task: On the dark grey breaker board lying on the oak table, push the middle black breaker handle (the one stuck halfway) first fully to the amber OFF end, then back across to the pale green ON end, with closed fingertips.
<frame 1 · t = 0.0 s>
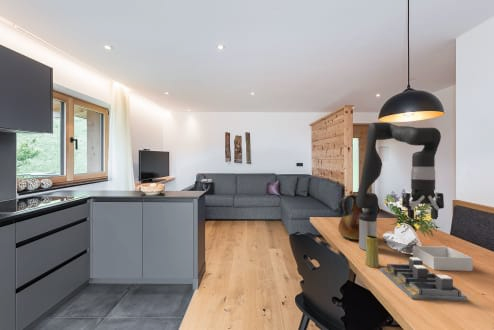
hand: (422, 218, 89), 29 cm above the table, fingers open, 8 cm apart
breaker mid: (419, 273, 95), point 5 cm above the table, slide at 4.5 cm
panel: (418, 284, 95), on the table
breaker near: (444, 283, 87), point 5 cm above the table, slide at 8.0 cm
ceramic pitcher: (354, 238, 153), on the table
vase: (371, 265, 113), on the table
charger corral: (440, 263, 114), on the table
breaker far: (415, 264, 103), point 5 cm above the table, slide at 8.0 cm
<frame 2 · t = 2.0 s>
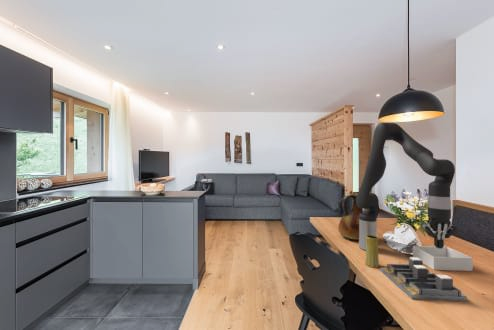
hand: (438, 247, 94), 16 cm above the table, fingers closed
nothing on the table moved.
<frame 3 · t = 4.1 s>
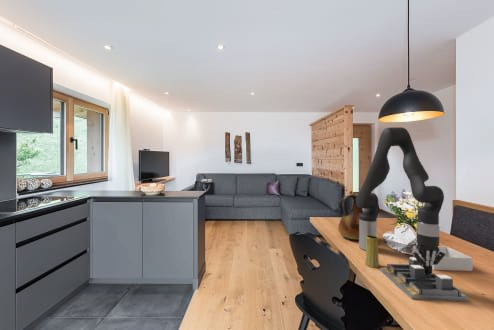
hand: (427, 273, 95), 4 cm above the table, fingers closed
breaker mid: (417, 273, 95), point 5 cm above the table, slide at 3.5 cm, touching gripper
everything else where it was.
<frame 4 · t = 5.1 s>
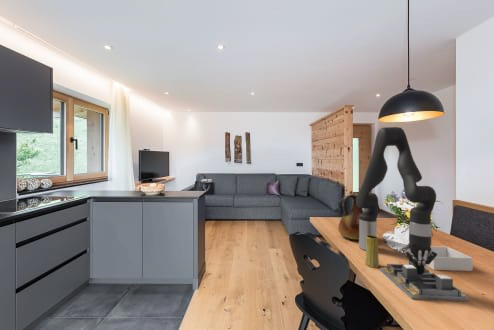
hand: (419, 273, 95), 4 cm above the table, fingers closed
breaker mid: (409, 273, 95), point 5 cm above the table, slide at 0.3 cm, touching gripper
everything else where it was.
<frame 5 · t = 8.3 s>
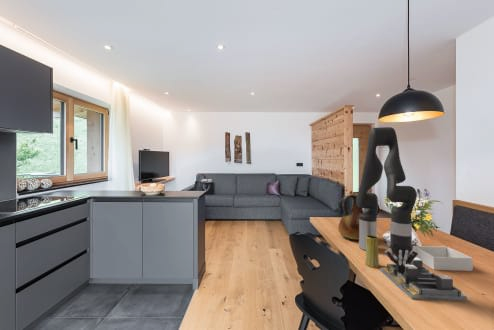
hand: (400, 272, 95), 4 cm above the table, fingers closed
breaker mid: (410, 273, 95), point 5 cm above the table, slide at 0.7 cm, touching gripper
everything else where it was.
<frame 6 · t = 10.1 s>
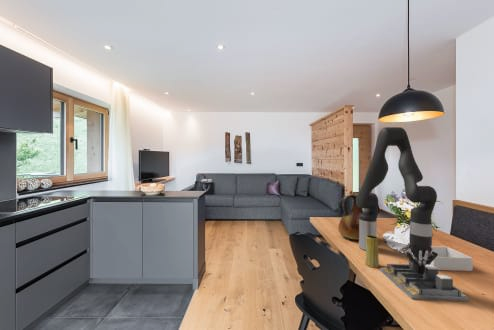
hand: (420, 273, 95), 4 cm above the table, fingers closed
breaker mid: (430, 273, 95), point 5 cm above the table, slide at 8.7 cm, touching gripper
everything else where it was.
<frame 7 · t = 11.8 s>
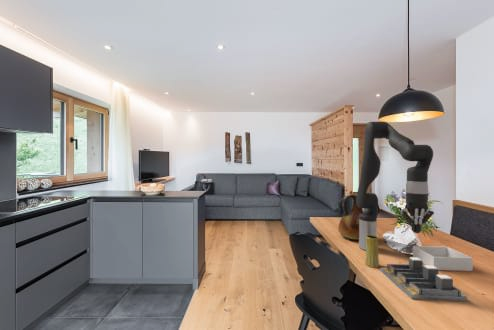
hand: (416, 232, 95), 22 cm above the table, fingers closed
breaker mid: (430, 273, 95), point 5 cm above the table, slide at 8.8 cm
everything else where it was.
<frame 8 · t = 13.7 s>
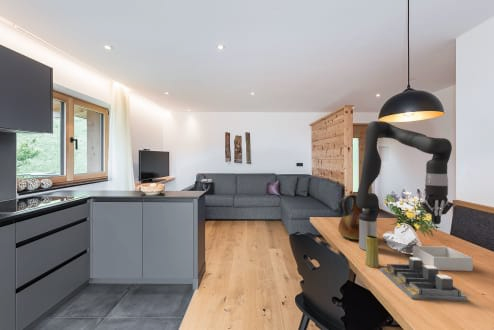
hand: (435, 223, 97), 25 cm above the table, fingers closed
nothing on the table moved.
at the end: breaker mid slide at 8.8 cm; breaker far slide at 8.0 cm; breaker near slide at 8.0 cm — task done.
